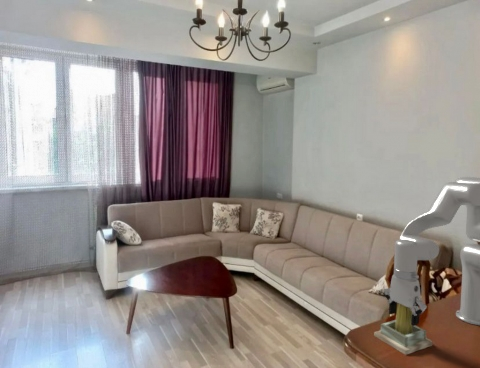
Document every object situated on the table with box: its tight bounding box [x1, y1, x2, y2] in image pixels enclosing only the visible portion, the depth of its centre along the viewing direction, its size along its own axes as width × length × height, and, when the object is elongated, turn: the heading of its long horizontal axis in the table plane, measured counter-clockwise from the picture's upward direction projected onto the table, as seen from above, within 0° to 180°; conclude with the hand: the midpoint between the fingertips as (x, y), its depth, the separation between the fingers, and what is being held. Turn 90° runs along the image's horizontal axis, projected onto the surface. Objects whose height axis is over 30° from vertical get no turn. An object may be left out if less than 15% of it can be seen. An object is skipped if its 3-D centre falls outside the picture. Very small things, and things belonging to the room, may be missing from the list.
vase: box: [395, 302, 413, 335], centre depth 128 cm, size 6×6×14 cm
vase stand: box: [373, 319, 434, 356], centre depth 128 cm, size 14×14×5 cm
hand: (403, 318), depth 127 cm, fingers open, 9 cm apart
